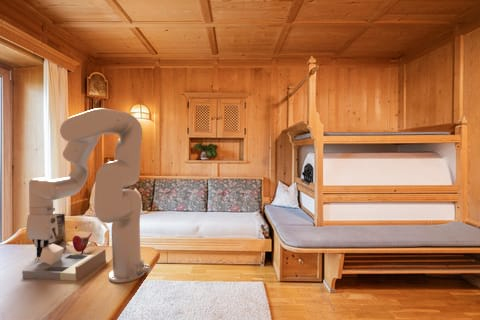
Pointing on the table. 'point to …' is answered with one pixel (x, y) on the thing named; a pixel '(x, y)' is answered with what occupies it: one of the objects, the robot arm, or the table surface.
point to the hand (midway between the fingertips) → (42, 255)
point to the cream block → (51, 254)
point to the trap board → (66, 267)
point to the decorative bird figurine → (80, 243)
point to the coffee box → (60, 231)
